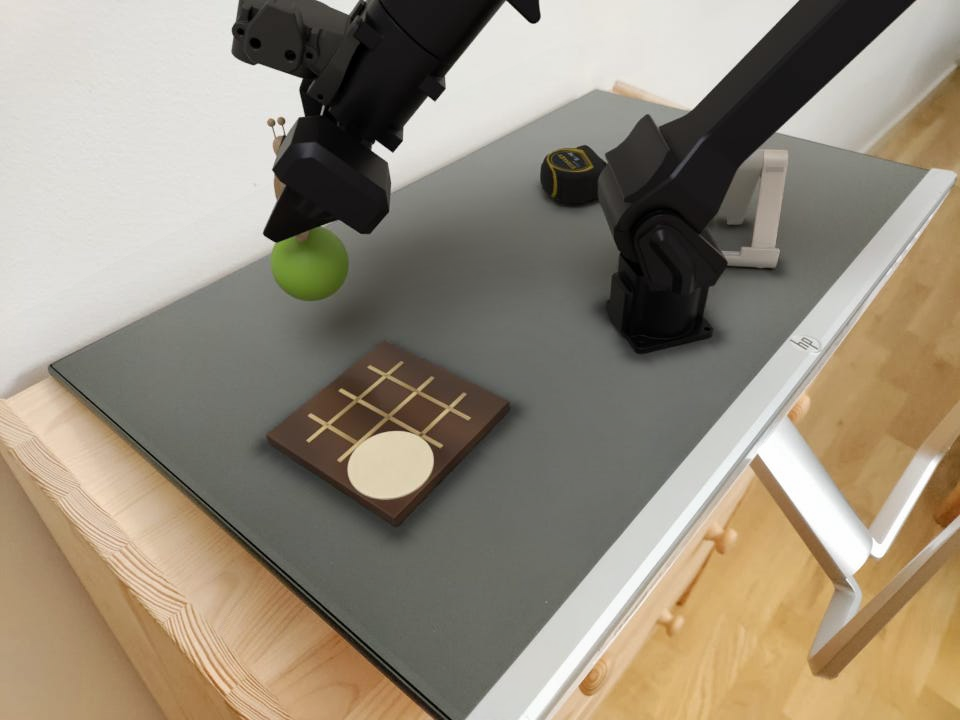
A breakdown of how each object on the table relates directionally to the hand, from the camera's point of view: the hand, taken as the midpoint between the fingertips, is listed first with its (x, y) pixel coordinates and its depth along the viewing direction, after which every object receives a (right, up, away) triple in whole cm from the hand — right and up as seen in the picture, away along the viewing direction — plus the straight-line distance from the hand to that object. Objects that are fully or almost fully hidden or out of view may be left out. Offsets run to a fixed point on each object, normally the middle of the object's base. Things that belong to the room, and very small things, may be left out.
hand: (276, 213), depth 48 cm
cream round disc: (+8, -18, -2) cm, 19 cm away
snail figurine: (+2, -5, +5) cm, 7 cm away
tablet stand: (+36, 0, +16) cm, 39 cm away
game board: (+8, -15, +2) cm, 17 cm away
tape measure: (+24, +7, +25) cm, 35 cm away
